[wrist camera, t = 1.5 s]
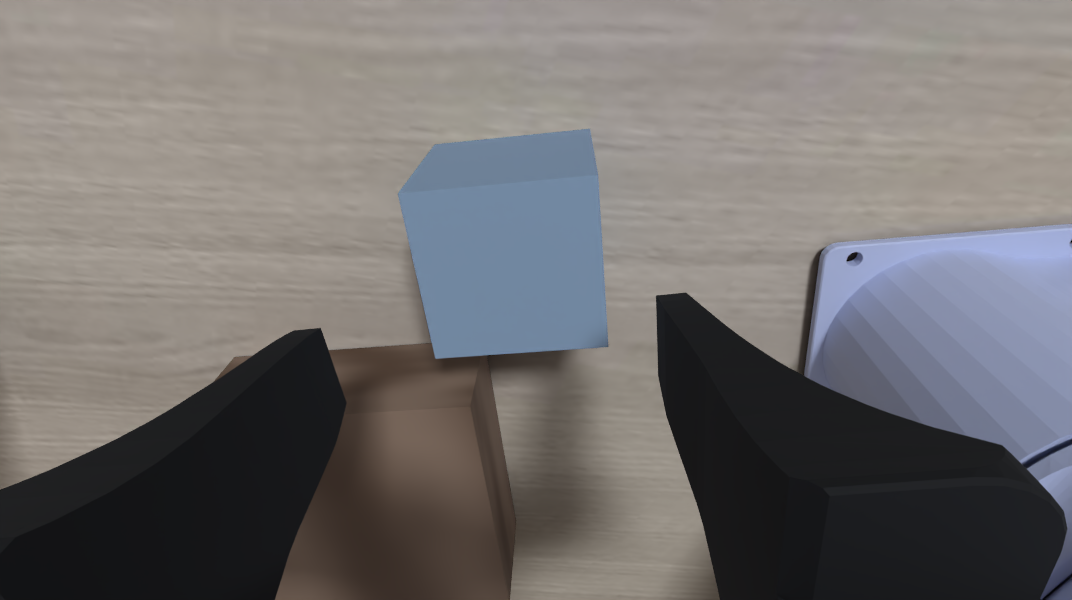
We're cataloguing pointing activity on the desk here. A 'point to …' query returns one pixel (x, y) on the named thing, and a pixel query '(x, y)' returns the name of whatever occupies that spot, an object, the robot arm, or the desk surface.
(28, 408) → the desk surface
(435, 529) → the walnut block
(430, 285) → the blue cube
